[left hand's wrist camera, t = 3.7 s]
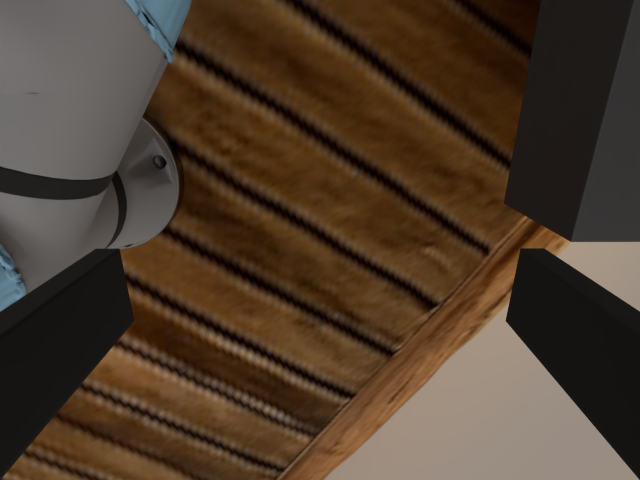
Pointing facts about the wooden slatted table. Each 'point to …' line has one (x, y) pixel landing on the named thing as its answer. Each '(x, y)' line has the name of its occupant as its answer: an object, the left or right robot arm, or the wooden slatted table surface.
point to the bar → (581, 123)
